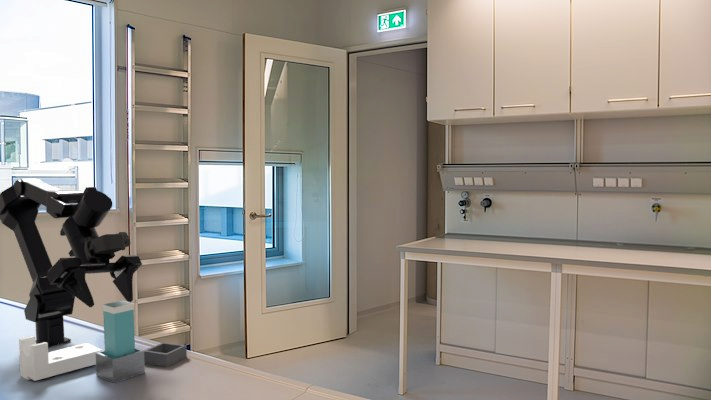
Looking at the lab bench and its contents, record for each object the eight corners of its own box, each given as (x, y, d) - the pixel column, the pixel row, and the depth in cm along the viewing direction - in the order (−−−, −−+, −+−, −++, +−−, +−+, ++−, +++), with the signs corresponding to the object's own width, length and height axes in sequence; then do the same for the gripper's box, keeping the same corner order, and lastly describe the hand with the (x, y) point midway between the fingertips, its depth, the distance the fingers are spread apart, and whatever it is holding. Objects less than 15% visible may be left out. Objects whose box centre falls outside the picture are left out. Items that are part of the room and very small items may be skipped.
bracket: (34, 385, 107) (33, 346, 106) (20, 376, 111) (19, 338, 111) (103, 366, 116) (101, 330, 116) (87, 359, 121) (86, 324, 121)
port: (96, 375, 111) (95, 352, 111) (127, 365, 116) (126, 344, 116) (113, 383, 107) (112, 359, 106) (144, 373, 112) (144, 350, 111)
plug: (104, 370, 111) (102, 304, 110) (124, 363, 114) (122, 300, 113) (116, 374, 108) (113, 307, 107) (136, 368, 112) (134, 303, 111)
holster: (143, 362, 118) (142, 351, 117) (163, 353, 123) (163, 342, 123) (167, 366, 115) (166, 354, 115) (186, 356, 121) (186, 345, 121)
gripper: (64, 216, 109) (94, 285, 103) (142, 219, 125) (171, 278, 120) (34, 250, 112) (61, 317, 107) (113, 248, 129) (140, 306, 124)
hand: (112, 303), depth 114 cm, fingers open, 9 cm apart
